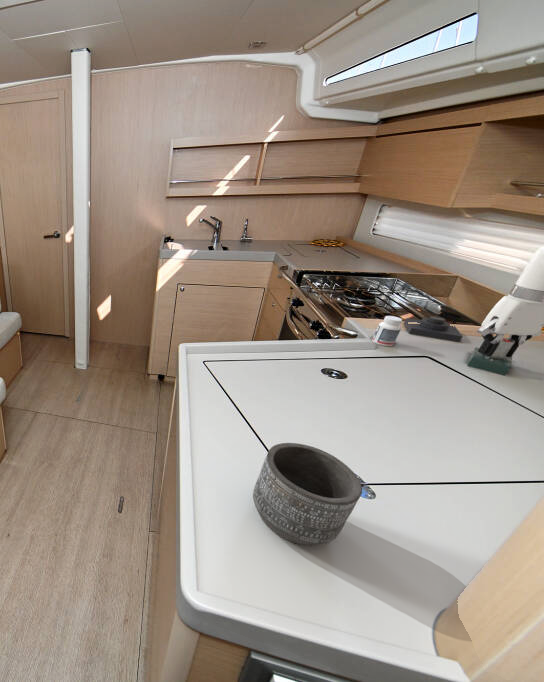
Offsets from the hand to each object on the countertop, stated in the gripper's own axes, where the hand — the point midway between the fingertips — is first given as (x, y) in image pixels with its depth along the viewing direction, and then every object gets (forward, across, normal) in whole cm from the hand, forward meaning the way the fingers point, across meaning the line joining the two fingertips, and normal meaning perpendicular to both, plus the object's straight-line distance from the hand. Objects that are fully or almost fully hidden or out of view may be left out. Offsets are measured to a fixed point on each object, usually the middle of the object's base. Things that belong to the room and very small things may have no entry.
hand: (494, 353), depth 100 cm
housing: (+4, -2, -22) cm, 23 cm away
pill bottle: (+4, +19, -13) cm, 23 cm away
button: (0, -2, -22) cm, 22 cm away
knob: (+1, 0, 0) cm, 1 cm away
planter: (+4, +80, +60) cm, 100 cm away
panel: (+4, 0, 0) cm, 4 cm away
